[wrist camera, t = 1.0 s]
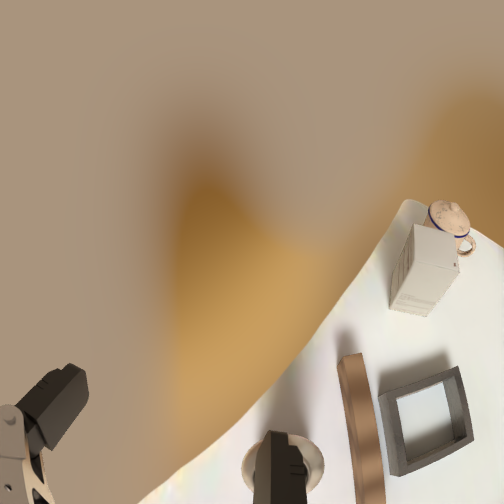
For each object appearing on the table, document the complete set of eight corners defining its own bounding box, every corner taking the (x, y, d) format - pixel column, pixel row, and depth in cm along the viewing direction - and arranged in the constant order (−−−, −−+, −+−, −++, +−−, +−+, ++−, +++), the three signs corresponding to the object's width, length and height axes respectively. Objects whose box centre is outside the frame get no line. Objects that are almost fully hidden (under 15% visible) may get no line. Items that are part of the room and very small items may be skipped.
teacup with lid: (408, 251, 45) (428, 205, 37) (422, 226, 49) (439, 182, 40) (457, 283, 39) (486, 241, 30) (467, 254, 43) (490, 213, 34)
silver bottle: (253, 441, 29) (217, 440, 14) (304, 430, 29) (323, 419, 14) (262, 482, 25) (234, 524, 10) (314, 472, 25) (344, 504, 10)
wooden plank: (336, 367, 35) (343, 356, 31) (353, 363, 34) (361, 352, 31) (357, 518, 19) (366, 527, 15) (375, 513, 19) (387, 521, 15)
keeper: (377, 397, 30) (385, 392, 28) (446, 372, 30) (457, 365, 27) (390, 474, 22) (399, 476, 20) (461, 442, 22) (474, 440, 19)
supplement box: (427, 282, 41) (455, 233, 31) (426, 318, 37) (461, 273, 27) (391, 273, 43) (413, 221, 34) (387, 309, 39) (414, 260, 29)
